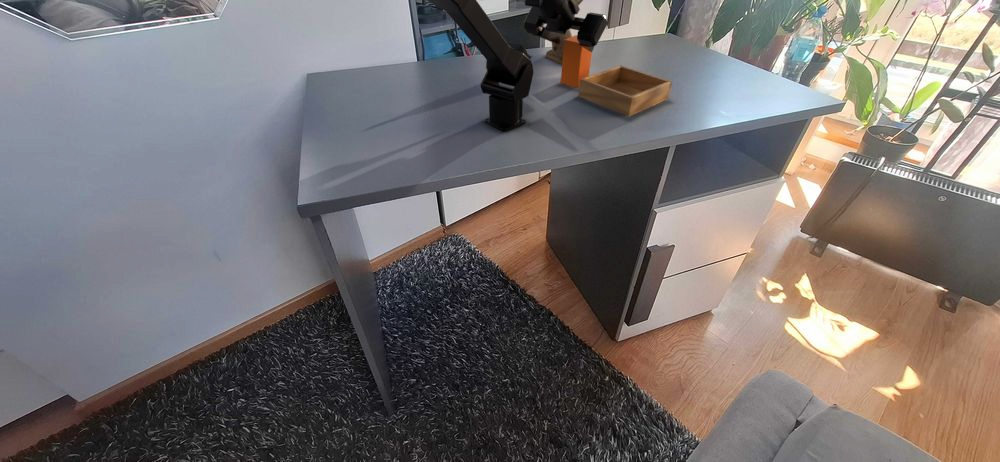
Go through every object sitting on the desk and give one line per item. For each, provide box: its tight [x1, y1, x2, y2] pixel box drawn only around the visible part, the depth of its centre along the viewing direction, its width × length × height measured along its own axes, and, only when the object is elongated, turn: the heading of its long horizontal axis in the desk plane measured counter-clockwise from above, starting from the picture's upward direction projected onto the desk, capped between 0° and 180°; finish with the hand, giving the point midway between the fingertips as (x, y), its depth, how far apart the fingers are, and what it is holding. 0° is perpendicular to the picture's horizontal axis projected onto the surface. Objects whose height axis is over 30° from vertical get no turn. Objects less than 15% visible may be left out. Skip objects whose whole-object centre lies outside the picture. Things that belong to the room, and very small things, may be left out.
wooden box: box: [578, 64, 673, 117], centre depth 95 cm, size 15×15×5 cm
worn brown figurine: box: [545, 29, 573, 65], centre depth 116 cm, size 12×6×18 cm, turn 28°
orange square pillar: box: [560, 34, 593, 89], centre depth 101 cm, size 5×5×11 cm
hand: (575, 46), depth 98 cm, fingers open, 9 cm apart
